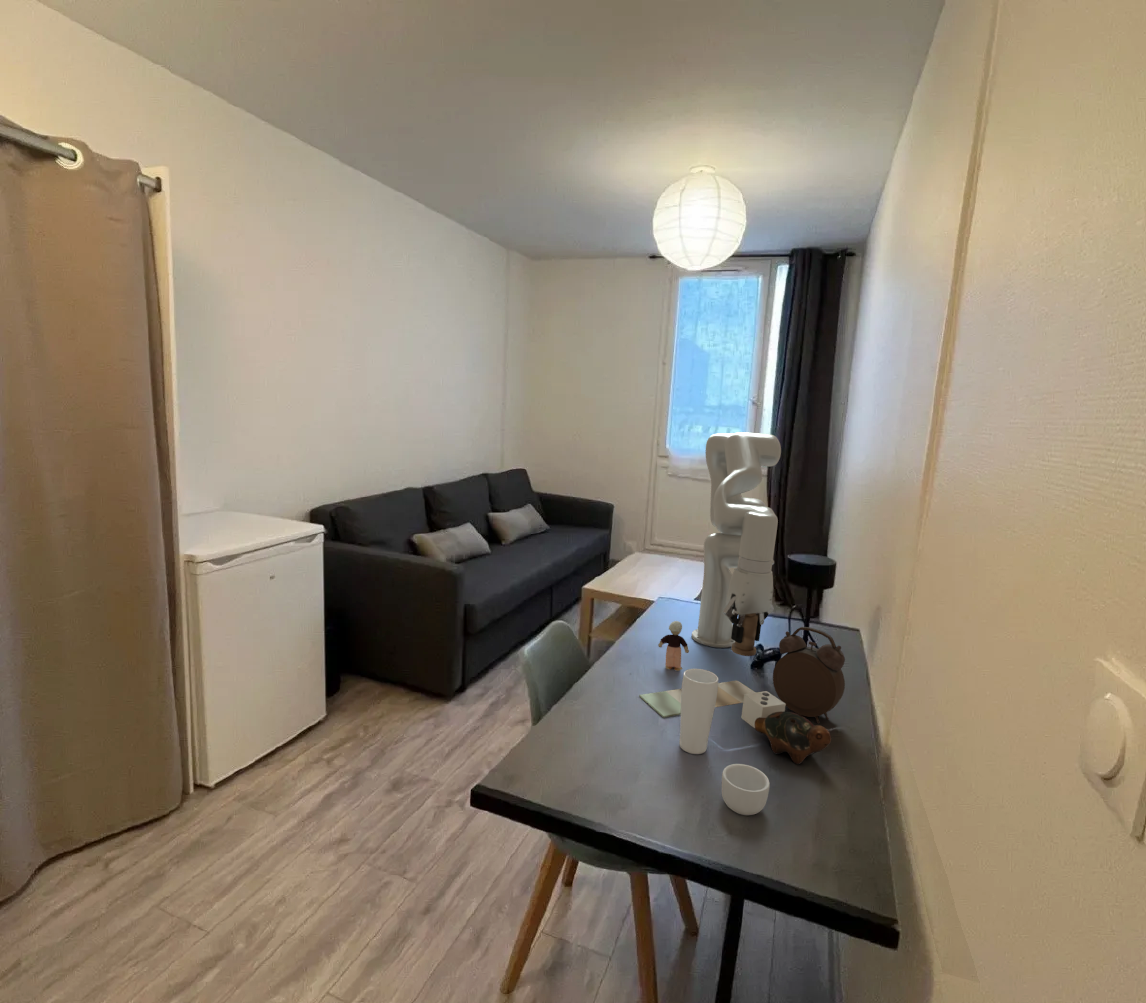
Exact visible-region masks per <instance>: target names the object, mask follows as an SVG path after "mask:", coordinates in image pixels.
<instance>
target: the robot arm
mask: <svg viewBox="0 0 1146 1003" xmlns="http://www.w3.org/2000/svg"><path fill="white" fill-rule="evenodd" d="M781 447H782V446H781V443H780V441H779V439H778V437H777V436H776V435H773V434H769V433H761V432H760V433H758V432H757V433H756V432H746V431H745V432H744V431H743V432H741V431H739V432H733V433H726V432H725V433H724V432H723V433H722V432H721V433H714V434H711V435H710V436H709V437H708V439H707V440H706V444H705V462H706V465H707V470H708V473H709V477H710V505H709V506H710V508H709V514H710V515H709V516H710V522H711V525H712V526H714V527H716V530H717V531H718V532H715V533H711V534H709V535H707V537H706V538H705V539H704V542H703V576H702V577H703V579H702V589H701V595H700V596H701V598H700V605H699V606H700V607H699V615H698V626H697V629H694V630H692V632H691V638H692V639H693V640H694V641H695V642H697V643H699V644H701V645H704V646H707V647H712V648H719V649H720V648H721V649H723V648H724V649H725V648H730V647H731V648H732V644H733V643H735V641H736V642H737V643H742V639H743V632H744V627H742V624H743V621H744V618H745V615H746V614H752V613H757V614H756V615H758V621H757V628H756V636H755V642H759V641H760V638H761V628H762V625H764V623H765V620H766V619H767V618H768V617H769V615H770V614H771V613H772V612H773V611H775V610H774V609H775V608H774V605H773V603H772V602H773V595H774V594H773V592H774V576H773V571H772V567H773V565H774V564H775V560H774V554H775V547H776V546H775V544H776V539H777V530H778V525H779V524H778V523H779V522H778V521H779V520H778V516H777V515H776V513H775V512H774V510H773V508H771V507H768V506H767V505H766V503H765V502H764V501H763V500H762V499H760V498H759V499H758V498H753V497H743V496H742V494H744V493H747V492H749V491H752V490H754V489H756V488H757V487H758V486H760V484H761V483H762V481H763V470H762V467H774V466H776V465H777V464H778V462H779V460H780V458H781V456H782V455H781V453H782V448H781ZM731 568H732V569H734V570H733V571H732V572H731V571H730V570H731ZM738 615H739V619H738Z"/></svg>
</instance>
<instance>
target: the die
mask: <svg viewBox="0 0 1146 1003" xmlns="http://www.w3.org/2000/svg"><path fill="white" fill-rule="evenodd" d="M755 692H756V691H755ZM785 706H786V704H785V703H784V702H782V701H781V700H780V698H779V697H776V696H775V695H773V693H770V692H769V691H767V690H765V691H757V692H756V693H749V694H744V701H743V703H742V709H741V719H742V720H743V721H745V723H747V724H748V725H749V726H751V727H752V728H754V729H755V720H756V719H757V718H759V717H762V718H766V717H767V716H768V715H770V714H772V713H775V712H780V711H782V712H786V707H787V706H786V707H785Z"/></svg>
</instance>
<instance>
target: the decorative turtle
mask: <svg viewBox="0 0 1146 1003" xmlns="http://www.w3.org/2000/svg"><path fill="white" fill-rule="evenodd" d="M754 730H756V731H757V732H758V733H760V734H763V735H764V736H766V737H767V739H768V741H769V743H770V748H771V750H772V751H773V753H774V754H776V755H781V754H783V753H784V752H786V753H787V754H788V755H789V757H790V759H791V761H792V762H793V763H794V764H796V765H799V764H802V763H803V761H804V760H805V759H806V758H807V757H808V756H811V755H812V754H814V753H818V752H821V751H823V750H825V749H826V748H827V747H828V746H829V745H831V741H832V735H831V733H830V732H829V731H830V730H828V729H827V728H826V727H824V726H822V725H819V724H815V725H814V723H813V722H811V720H809V719H807V718H806V716H803V715H800V714H797V713H795V712H793V711H785V712H782V711H780V712H775V713H772V714H770V715H768V716H767V717H766V718H762V717H759V718H757V719H756V720H755V728H754Z"/></svg>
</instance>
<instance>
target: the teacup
mask: <svg viewBox="0 0 1146 1003" xmlns="http://www.w3.org/2000/svg"><path fill="white" fill-rule="evenodd" d="M770 785H771V784H770V780H769V778H768V776H767V775H766V774H765V773H764V772H763V771H761V770H760V769H758V768H756V767H754V766H752V765H748V764H743V763H733V764H729V765H726V767H724V769H723V770H722V774H721V796H722V799H723V801H724V803H725V804H726V806H727V807H728V808H729V809H730V810H731V811H733V812H734V813H737V814H739V815H742V816H753V815H755V814H759V813H760V812H761V811H762V810H763V809H764V808H765V806H766V804H767V801H768V797H769V793H770Z"/></svg>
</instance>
